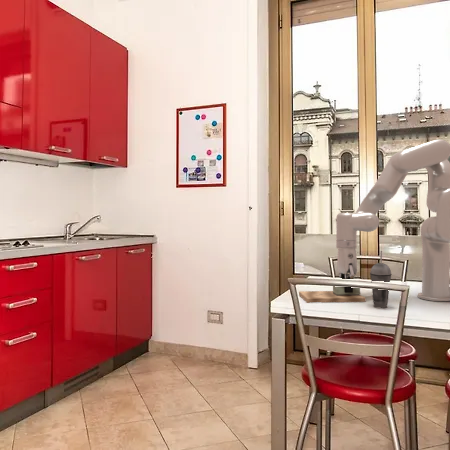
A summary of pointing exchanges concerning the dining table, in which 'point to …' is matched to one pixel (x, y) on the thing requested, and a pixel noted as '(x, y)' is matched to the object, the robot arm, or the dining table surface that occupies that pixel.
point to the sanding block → (340, 292)
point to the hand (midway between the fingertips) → (346, 290)
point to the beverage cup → (380, 274)
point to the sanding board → (329, 297)
